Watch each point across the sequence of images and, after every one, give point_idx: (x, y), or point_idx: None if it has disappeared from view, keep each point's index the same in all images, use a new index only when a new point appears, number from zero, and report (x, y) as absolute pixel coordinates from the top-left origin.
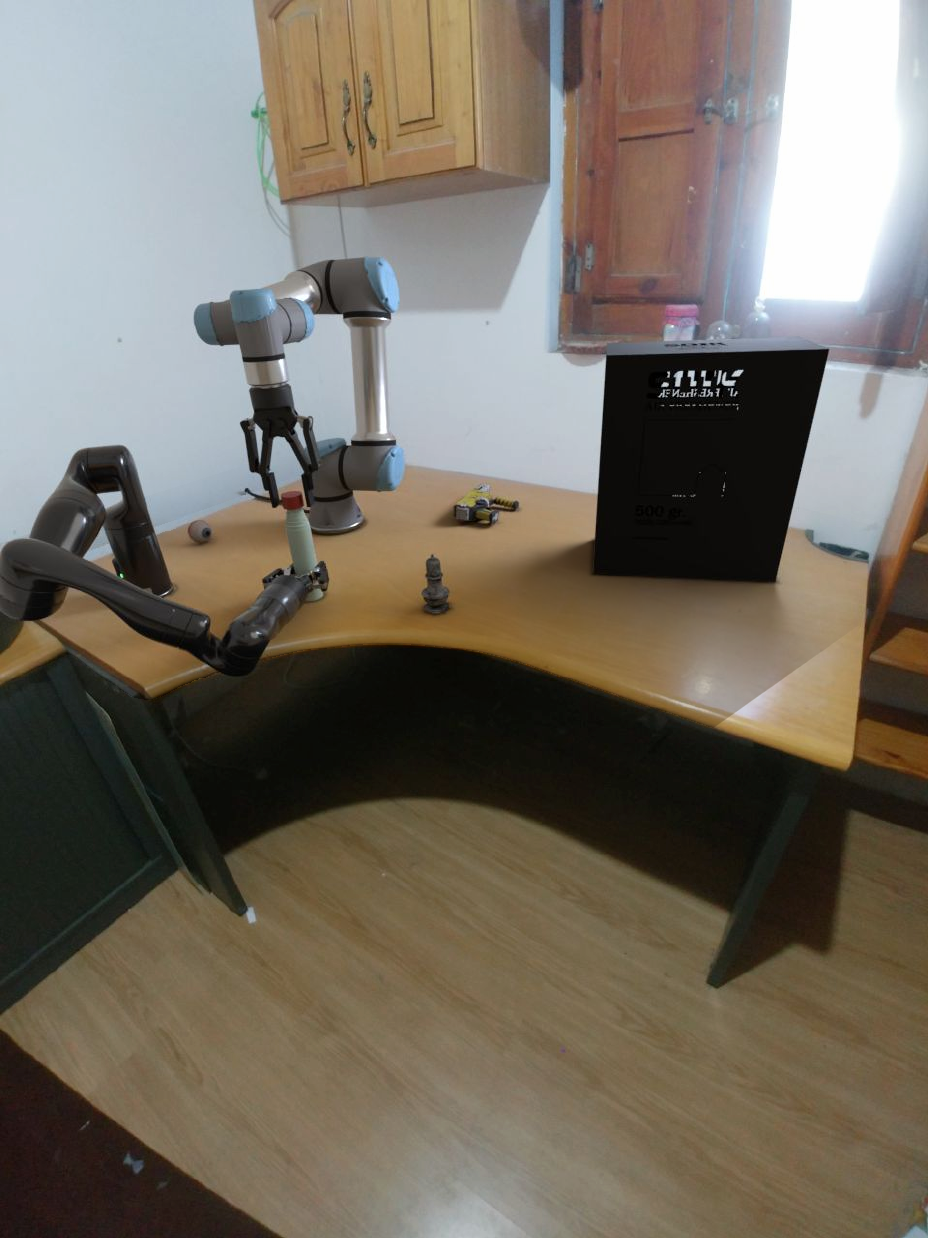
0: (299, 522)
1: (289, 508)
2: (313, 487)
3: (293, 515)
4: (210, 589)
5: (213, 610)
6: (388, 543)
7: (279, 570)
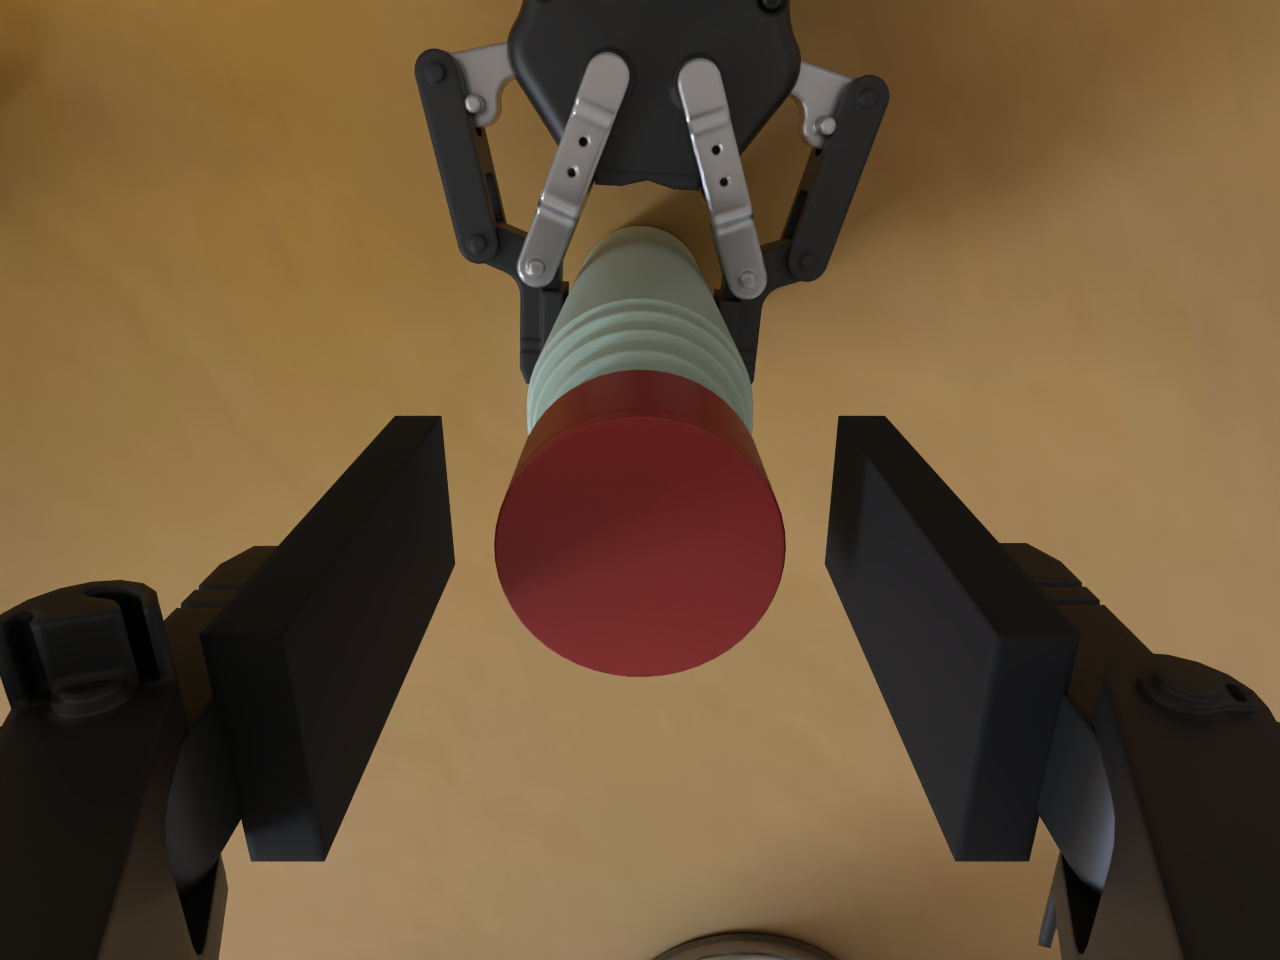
0: (575, 345)
1: (649, 375)
2: (229, 560)
3: (625, 368)
4: (1242, 382)
5: (1172, 125)
6: (421, 844)
7: (798, 243)
